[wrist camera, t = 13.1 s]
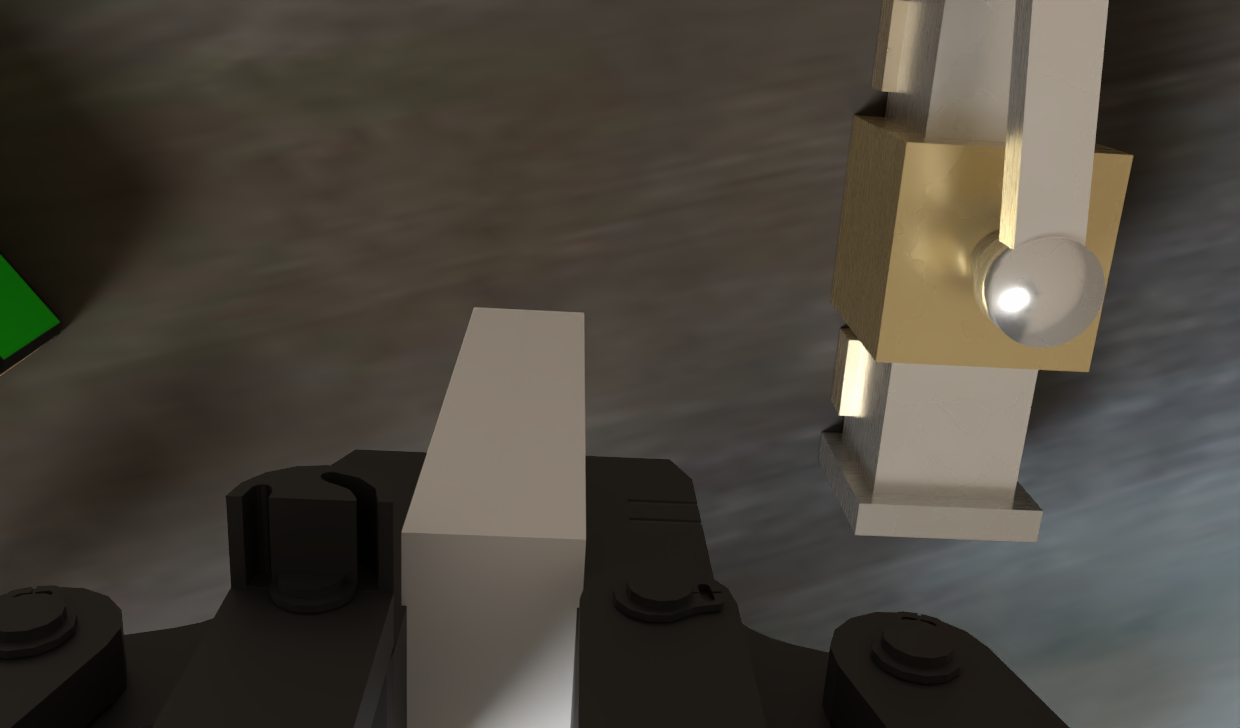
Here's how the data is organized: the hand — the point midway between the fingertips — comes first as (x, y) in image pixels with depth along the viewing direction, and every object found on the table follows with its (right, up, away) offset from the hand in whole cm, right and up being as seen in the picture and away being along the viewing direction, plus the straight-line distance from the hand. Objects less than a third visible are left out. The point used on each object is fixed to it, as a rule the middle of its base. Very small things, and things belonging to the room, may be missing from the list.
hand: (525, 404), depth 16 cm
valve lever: (+13, +9, +16) cm, 22 cm away
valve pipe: (+13, +6, +26) cm, 30 cm away
